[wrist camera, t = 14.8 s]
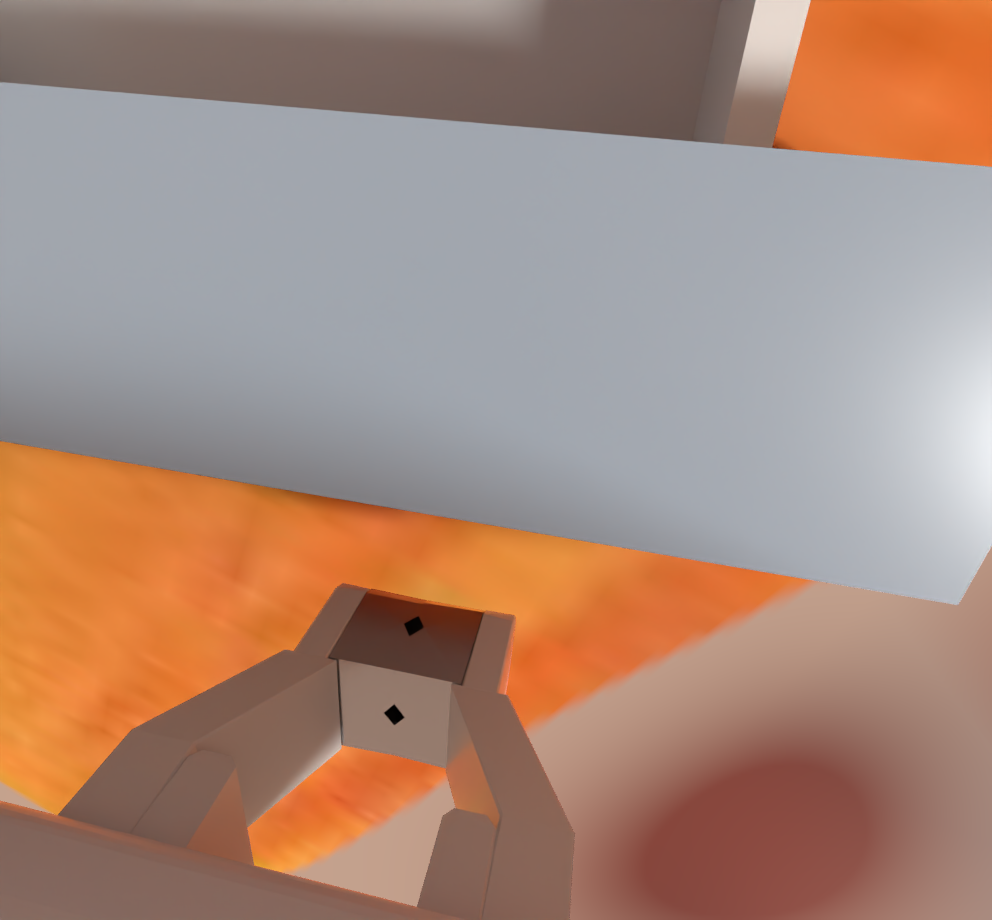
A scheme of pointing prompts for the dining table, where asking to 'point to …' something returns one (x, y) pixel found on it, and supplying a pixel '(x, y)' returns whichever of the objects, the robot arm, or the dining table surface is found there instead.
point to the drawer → (497, 276)
